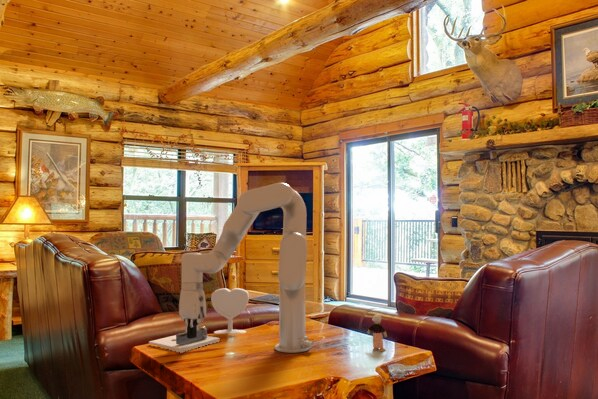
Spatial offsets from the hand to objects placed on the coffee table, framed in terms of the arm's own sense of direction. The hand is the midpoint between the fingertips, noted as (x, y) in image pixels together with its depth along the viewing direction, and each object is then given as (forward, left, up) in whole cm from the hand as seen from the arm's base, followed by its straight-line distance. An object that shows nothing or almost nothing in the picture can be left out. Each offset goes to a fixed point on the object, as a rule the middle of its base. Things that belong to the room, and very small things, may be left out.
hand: (191, 337), depth 178 cm
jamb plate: (+9, -4, -4) cm, 10 cm away
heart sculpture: (+9, -29, -5) cm, 30 cm away
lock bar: (+4, -3, -2) cm, 5 cm away
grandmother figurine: (-55, -38, -5) cm, 67 cm away
